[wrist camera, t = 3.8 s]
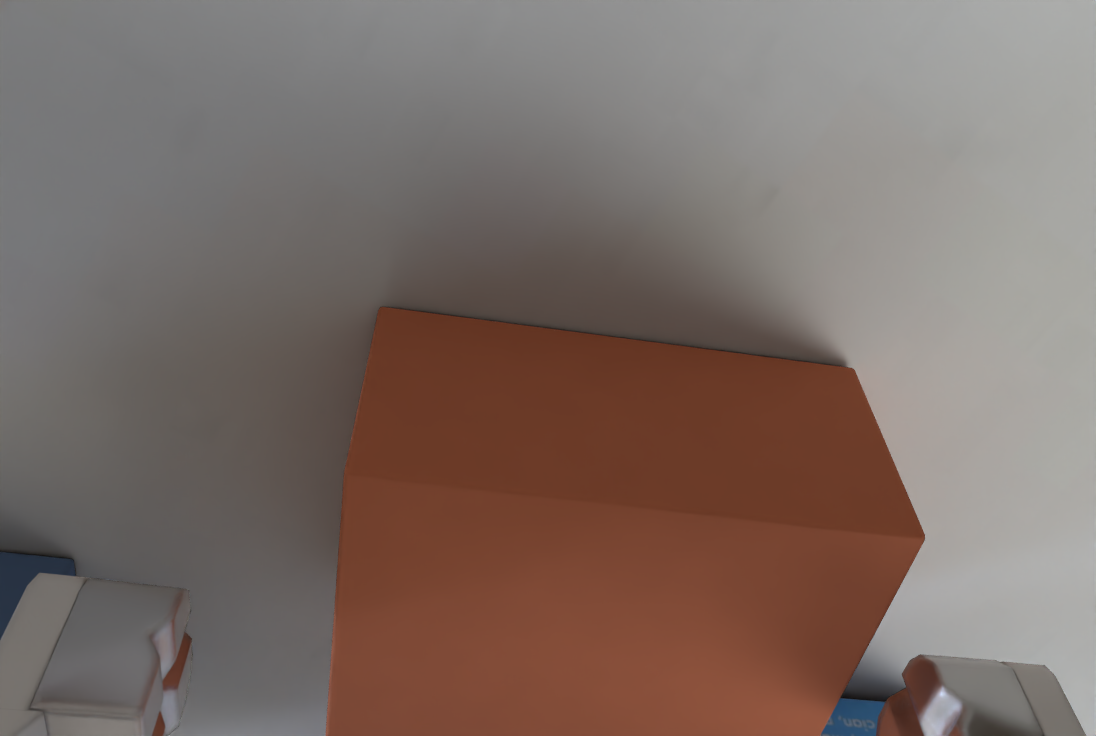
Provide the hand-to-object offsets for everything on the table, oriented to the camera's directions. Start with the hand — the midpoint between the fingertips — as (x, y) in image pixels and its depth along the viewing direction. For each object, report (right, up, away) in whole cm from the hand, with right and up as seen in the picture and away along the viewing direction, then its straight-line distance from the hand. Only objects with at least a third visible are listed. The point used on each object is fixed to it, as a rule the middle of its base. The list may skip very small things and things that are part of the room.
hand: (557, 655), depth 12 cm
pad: (0, +2, +3) cm, 3 cm away
